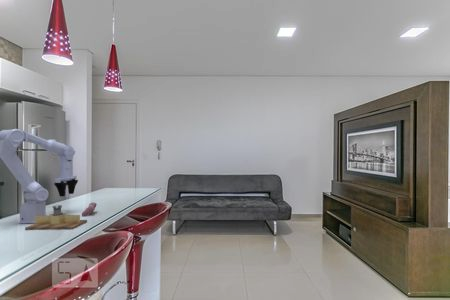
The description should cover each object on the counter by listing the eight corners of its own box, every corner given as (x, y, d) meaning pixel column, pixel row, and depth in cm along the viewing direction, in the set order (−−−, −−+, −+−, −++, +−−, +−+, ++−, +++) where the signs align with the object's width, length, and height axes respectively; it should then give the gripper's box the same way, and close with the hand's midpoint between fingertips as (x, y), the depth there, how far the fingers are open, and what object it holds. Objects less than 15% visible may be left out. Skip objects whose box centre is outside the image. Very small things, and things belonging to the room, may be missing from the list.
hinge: (30, 225, 112) (30, 216, 112) (41, 221, 118) (40, 212, 118) (75, 225, 112) (75, 215, 112) (83, 221, 118) (83, 212, 118)
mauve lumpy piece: (89, 219, 132) (96, 206, 133) (80, 215, 131) (87, 202, 132) (93, 214, 141) (99, 202, 142) (84, 211, 140) (91, 199, 141)
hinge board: (25, 229, 110) (25, 227, 110) (43, 222, 121) (43, 220, 121) (73, 229, 110) (73, 226, 110) (87, 222, 121) (87, 219, 121)
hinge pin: (51, 224, 113) (50, 207, 113) (56, 222, 117) (55, 205, 117) (58, 224, 113) (58, 206, 113) (63, 222, 117) (63, 205, 117)
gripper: (65, 169, 129) (65, 197, 129) (81, 167, 144) (82, 192, 144) (51, 170, 129) (51, 197, 129) (68, 167, 144) (69, 192, 144)
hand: (66, 195), depth 136 cm, fingers open, 7 cm apart
